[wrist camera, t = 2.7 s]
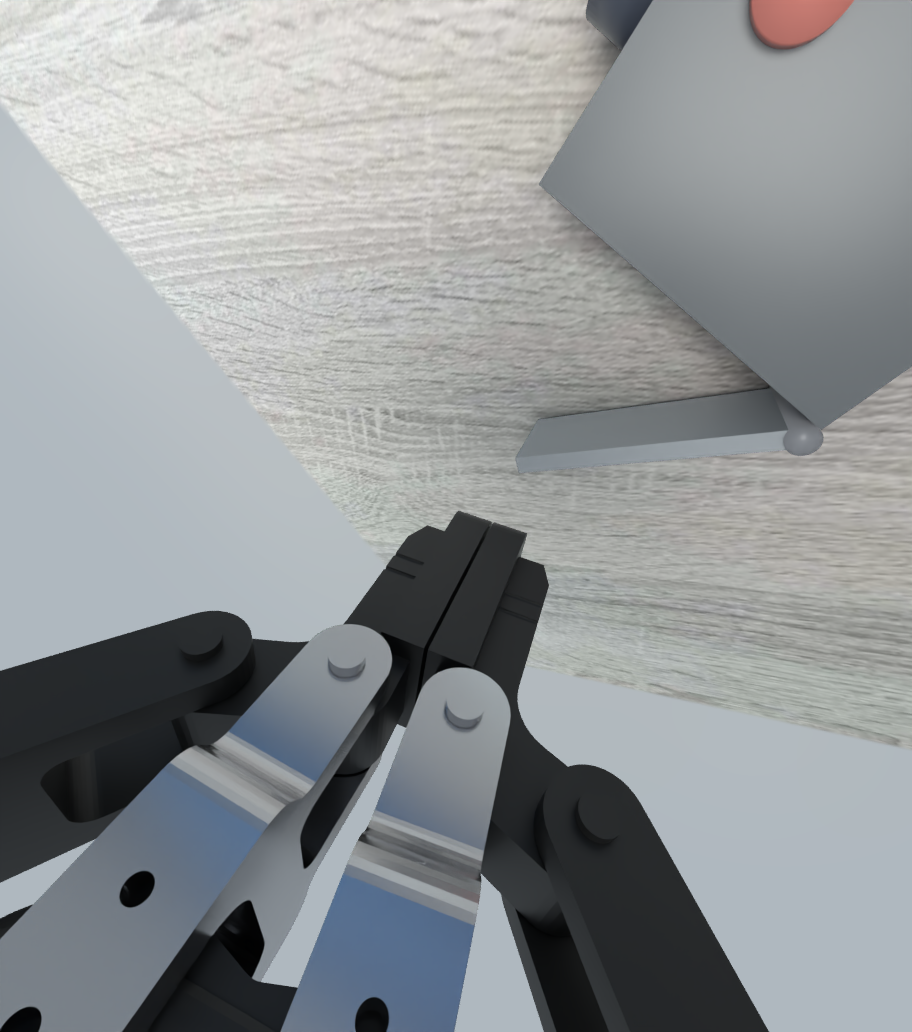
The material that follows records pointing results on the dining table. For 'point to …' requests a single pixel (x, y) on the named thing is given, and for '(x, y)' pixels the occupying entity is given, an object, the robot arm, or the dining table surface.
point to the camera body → (761, 180)
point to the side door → (670, 432)
